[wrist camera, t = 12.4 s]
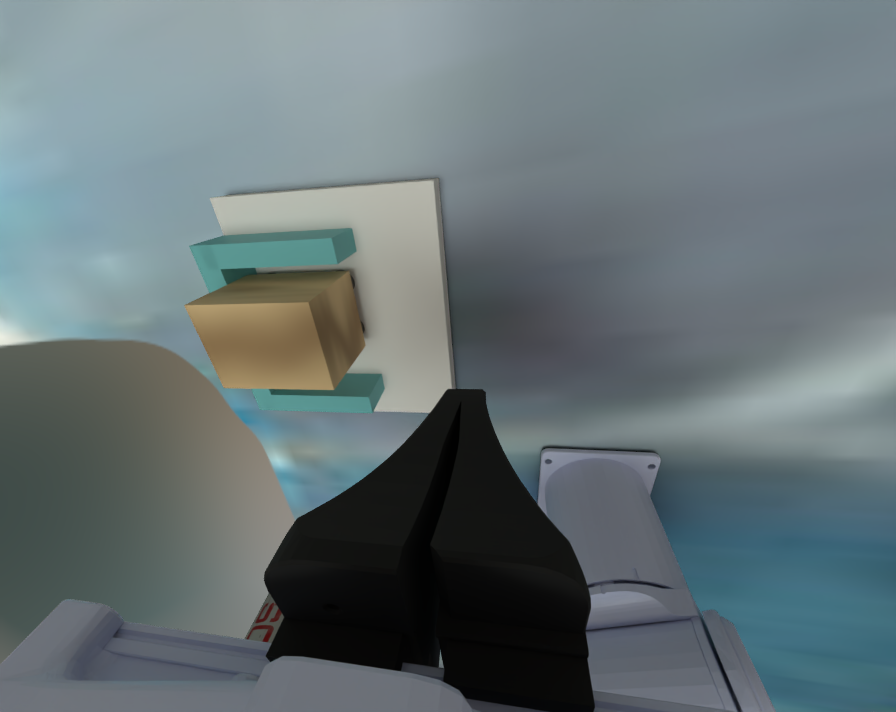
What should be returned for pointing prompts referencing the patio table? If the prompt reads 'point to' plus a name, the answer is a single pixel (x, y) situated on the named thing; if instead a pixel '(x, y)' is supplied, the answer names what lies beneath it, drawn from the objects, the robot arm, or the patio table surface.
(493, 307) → the patio table surface
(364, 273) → the dock
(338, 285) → the cardboard box
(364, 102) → the patio table surface
